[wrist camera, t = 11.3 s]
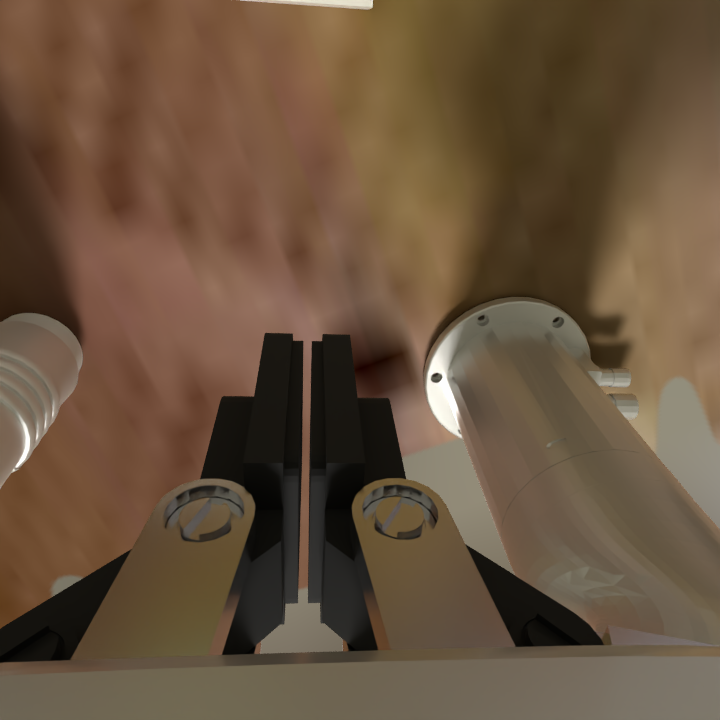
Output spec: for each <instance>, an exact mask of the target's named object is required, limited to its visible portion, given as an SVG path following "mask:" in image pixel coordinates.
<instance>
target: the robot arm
mask: <svg viewBox="0 0 720 720" xmlns="http://www.w3.org/2000/svg"><path fill="white" fill-rule="evenodd" d="M481 315H483V316H482V317H481V318H478V317H480V316H481ZM555 318H556V319H555ZM434 373H436V374H434ZM423 376H424V390H425V394H426V398H427V402H428V404H429V407H430V409H431V412H432V413H433V415H434V416H435V418H436V419H437V420H438V422H439V423H440V424H441V425H442V426H443V427H444V428H445V429H447V430H448V431H449V432H451V433H452V434H454V435H455V436H457V437H459V438H462V439H463V441H464V443H465V446H466V449H467V451H468V454H469V456H470V459H471V462H472V465H473V467H474V470H475V473H476V475H477V478H478V481H479V483H480V486H481V489H482V491H483V494H484V497H485V499H486V502H487V505H488V508H489V510H490V513H491V515H492V518H493V521H494V523H495V526H496V529H497V532H498V534H499V537H500V540H501V542H502V545H503V548H504V550H505V552H506V554H507V558H508V560H509V562H510V565H511V568H512V570H513V572H514V574H515V575H513V574H512V573H510V572H509V571H507V570H505V569H504V568H502V567H501V566H499V565H497V564H496V563H494V562H493V561H491V560H490V559H488V558H486V557H484V556H483V555H482V554H480V553H478V552H477V551H475V550H474V549H472V548H470V547H469V546H467V545H466V544H465V543H464V541H463V539H462V537H461V535H460V533H459V530H458V529H457V526H456V524H455V522H454V520H453V518H452V516H451V514H450V512H449V510H448V508H447V506H446V504H445V503H444V502H443V500H442V499H441V497H440V496H439V495H438V494H437V493H435V492H434V491H433V490H431V489H430V488H429V487H427V486H425V485H422V484H420V483H418V482H416V481H412V480H407V479H406V476H405V471H404V467H403V462H402V457H401V452H400V448H399V443H398V438H397V433H396V428H395V424H394V419H393V414H392V409H391V405H390V401H389V399H388V398H357V390H356V382H355V373H354V365H353V357H352V348H351V340H350V335H332V334H323V337H322V341H312V363H311V415H310V473H309V564H308V603H320V606H321V607H320V609H321V610H320V611H321V623H325V624H326V625H327V626H328V627H329V628H331V629H332V630H333V631H334V632H335V633H337V634H338V635H339V636H340V637H341V638H342V639H343V641H342V645H343V651H342V652H310V653H309V652H307V653H275V654H260V652H261V640H262V639H264V638H265V637H266V636H267V635H268V634H269V633H271V631H273V630H274V629H275V628H276V627H277V626H279V625H280V624H284V620H285V604H286V603H287V604H288V603H298V576H299V542H300V508H301V474H302V410H303V341H293V334H283V333H265V336H264V342H263V348H262V353H261V359H260V365H259V371H258V377H257V383H256V389H255V395H254V397H243V396H223V397H222V399H221V401H220V405H219V409H218V413H217V417H216V420H215V424H214V428H213V432H212V436H211V440H210V443H209V447H208V451H207V455H206V459H205V463H204V467H203V470H202V474H201V478H200V480H196V481H191V482H188V483H186V484H183V485H181V486H179V487H176V488H175V489H173V490H172V491H170V492H169V493H168V494H166V495H165V496H164V497H163V498H162V499H161V500H160V502H159V503H158V504H157V505H156V507H155V508H154V510H153V512H152V514H151V515H150V517H149V519H148V521H147V523H146V524H145V526H144V528H143V530H142V532H141V533H140V535H139V537H138V539H137V541H136V542H135V544H134V546H133V548H132V549H131V550H129V551H128V552H126V553H124V554H123V555H121V556H119V557H118V558H116V559H114V560H113V561H111V562H110V563H108V564H106V565H105V566H103V567H101V568H100V569H98V570H96V571H95V572H93V573H91V574H90V575H88V576H86V577H85V578H83V579H81V580H80V581H78V582H76V583H75V584H73V585H72V586H70V587H68V588H67V589H65V590H63V591H62V592H60V593H58V594H57V595H55V596H53V597H52V598H50V599H48V600H47V601H45V602H43V603H42V604H40V605H38V606H37V607H35V608H33V609H32V610H30V611H28V612H27V613H25V614H24V615H22V616H20V617H19V618H17V619H15V620H14V621H12V622H10V623H9V624H7V625H5V626H4V627H2V628H1V629H0V720H720V529H719V528H718V527H717V525H716V524H715V523H714V522H713V521H712V520H711V519H710V517H709V516H708V515H707V514H706V513H705V512H704V511H703V510H702V508H701V507H700V506H699V505H698V504H697V503H696V502H695V501H694V500H693V498H692V497H691V496H690V495H689V494H688V492H687V491H686V490H685V489H684V487H683V486H682V485H681V484H680V483H679V482H678V480H677V479H676V478H675V477H674V475H673V474H672V473H671V472H670V471H669V470H668V469H667V467H665V465H664V464H663V463H662V462H661V461H660V459H659V458H658V457H657V456H656V454H655V453H654V452H653V451H652V450H651V448H650V447H649V446H648V445H647V443H646V442H645V441H644V440H643V439H642V437H641V436H640V435H639V434H638V433H637V431H636V430H635V429H634V428H633V427H632V425H631V424H630V423H629V422H628V420H627V419H634V418H636V416H637V414H638V410H639V404H638V400H637V398H636V396H635V395H633V394H607V395H606V394H605V393H604V391H603V390H602V389H601V388H600V386H609V387H628V386H629V384H630V383H631V373H630V371H629V370H628V369H626V368H609V369H599V367H598V366H597V365H595V364H594V363H593V362H592V360H591V357H590V348H589V345H588V342H587V339H586V336H585V335H584V333H583V332H582V330H581V328H580V327H579V325H578V324H577V323H576V322H575V321H574V320H573V319H572V318H571V317H570V315H568V314H567V313H566V312H564V311H563V310H562V309H560V308H559V307H558V306H555V305H553V304H551V303H549V302H546V301H544V300H539V299H535V298H530V297H508V298H501V299H496V300H492V301H489V302H486V303H483V304H480V305H478V306H476V307H474V308H472V309H471V310H469V311H467V312H465V313H463V314H462V315H461V316H459V317H458V318H457V319H456V320H454V321H453V322H452V323H451V324H450V325H449V326H448V327H447V328H446V329H445V330H444V331H443V332H442V333H441V334H440V335H439V337H438V339H437V340H436V342H435V343H434V345H433V346H432V348H431V350H430V353H429V355H428V358H427V360H426V364H425V369H424V375H423Z"/></svg>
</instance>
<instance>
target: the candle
mask: <svg viewBox="0 0 720 720" xmlns="http://www.w3.org/2000/svg"><path fill="white" fill-rule="evenodd" d="M82 361H83V354H82V349H81V346H80V344H79V342H78V340H77V338H76V337H75V335H74V334H73V333H72V332H71V331H70V330H69V329H68V328H67V327H66V326H64V325H63V324H62V323H60V322H59V321H57V320H55V319H53V318H50V317H48V316H45V315H41V314H37V313H21V314H17V315H12V316H11V317H9V318H7V319H5V320H4V321H2V322H0V488H1V487H2V485H3V484H4V482H5V481H6V479H7V478H8V477H9V475H10V474H11V473H12V472H14V471H16V470H18V469H20V468H21V466H22V465H23V463H24V462H25V461H26V460H27V459H28V458H29V457H30V455H31V454H32V451H33V449H34V448H35V447H36V446H37V445H38V444H39V442H40V440H41V438H42V437H43V436H44V435H45V433H46V432H47V430H48V428H49V426H50V425H51V424H52V423H53V422H54V420H55V418H56V416H57V414H58V412H59V407H60V406H61V405H62V403H63V402H64V401H65V400H66V399H67V398H68V397H69V396H70V394H71V393H72V392H73V391H74V389H75V387H76V384H77V382H78V373H79V371H80V368H81V366H82Z"/></svg>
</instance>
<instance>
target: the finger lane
mask: <svg viewBox="0 0 720 720" xmlns="http://www.w3.org/2000/svg"><path fill="white" fill-rule="evenodd" d="M242 1H256V2H270V3H283V4H297V5H311V6H325V7H339V8H352V9H366V10H369V9H371V8H372V7H373V0H242Z"/></svg>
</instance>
